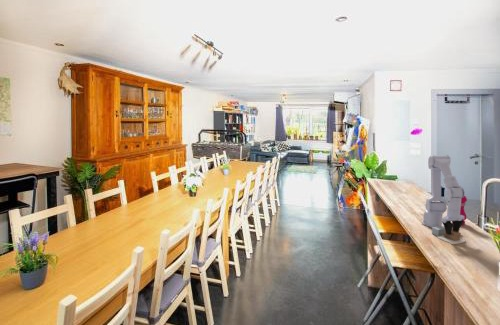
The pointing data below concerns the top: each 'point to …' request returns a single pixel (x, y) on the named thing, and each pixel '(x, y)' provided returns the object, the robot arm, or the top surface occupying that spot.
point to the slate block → (438, 231)
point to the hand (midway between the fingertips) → (451, 233)
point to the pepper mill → (463, 208)
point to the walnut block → (453, 235)
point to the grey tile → (451, 240)
